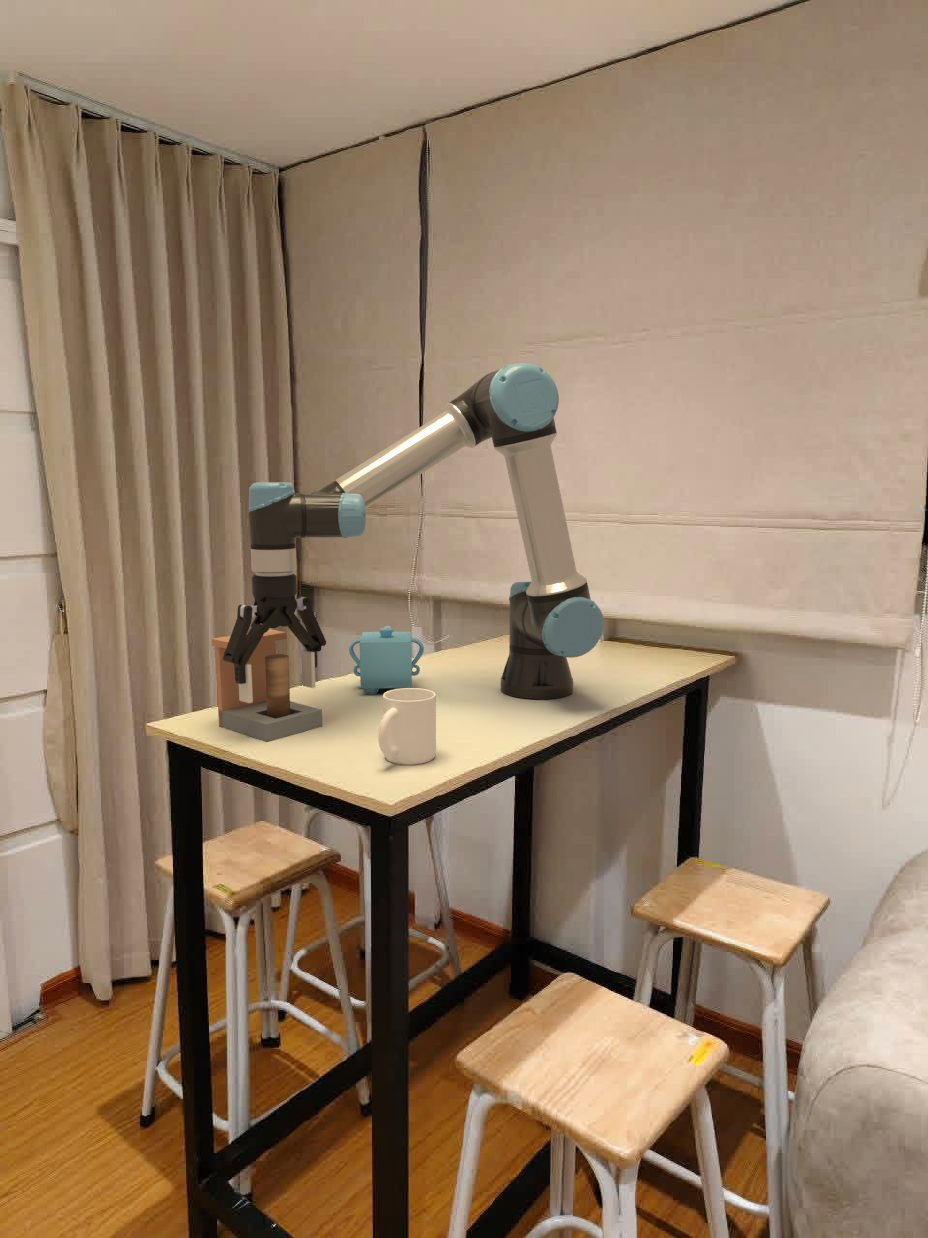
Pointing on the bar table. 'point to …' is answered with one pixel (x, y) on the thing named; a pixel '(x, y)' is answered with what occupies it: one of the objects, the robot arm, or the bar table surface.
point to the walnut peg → (277, 685)
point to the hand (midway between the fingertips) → (278, 694)
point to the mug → (408, 726)
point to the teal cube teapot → (385, 659)
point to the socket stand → (257, 696)
